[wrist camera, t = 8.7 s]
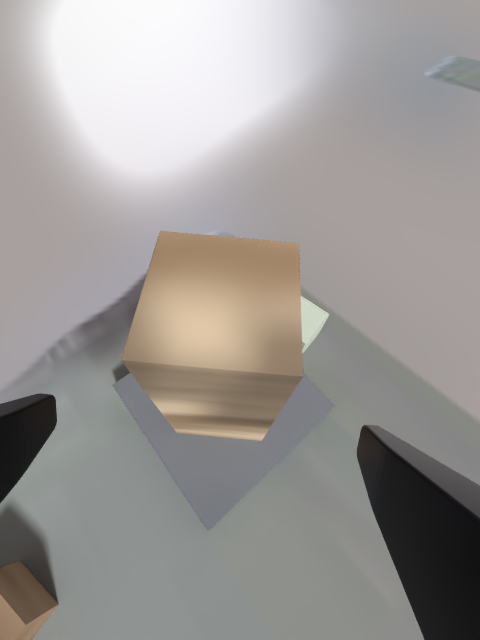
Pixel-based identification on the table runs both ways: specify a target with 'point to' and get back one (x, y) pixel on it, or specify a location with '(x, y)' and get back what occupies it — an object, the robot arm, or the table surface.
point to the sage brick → (311, 321)
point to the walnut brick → (22, 603)
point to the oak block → (218, 333)
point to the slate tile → (223, 448)
